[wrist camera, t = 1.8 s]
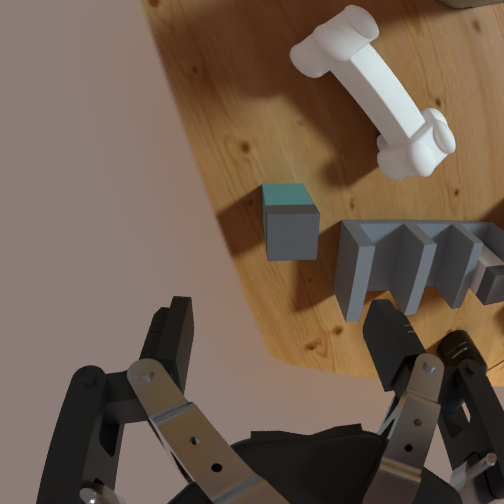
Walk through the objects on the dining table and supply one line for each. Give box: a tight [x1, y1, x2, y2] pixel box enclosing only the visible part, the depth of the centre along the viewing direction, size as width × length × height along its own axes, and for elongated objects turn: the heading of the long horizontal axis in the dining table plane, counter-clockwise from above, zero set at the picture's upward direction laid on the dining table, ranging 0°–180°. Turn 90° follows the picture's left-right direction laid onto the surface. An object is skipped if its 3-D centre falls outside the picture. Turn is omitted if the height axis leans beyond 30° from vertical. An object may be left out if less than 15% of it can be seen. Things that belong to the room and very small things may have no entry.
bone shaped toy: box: [290, 5, 455, 180], centre depth 21 cm, size 15×9×8 cm, turn 44°
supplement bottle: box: [437, 330, 491, 384], centre depth 37 cm, size 7×7×12 cm
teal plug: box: [262, 184, 320, 261], centre depth 27 cm, size 4×4×8 cm
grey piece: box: [333, 220, 504, 322], centre depth 31 cm, size 23×9×6 cm, turn 92°
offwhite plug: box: [469, 244, 504, 305], centre depth 29 cm, size 4×4×8 cm
